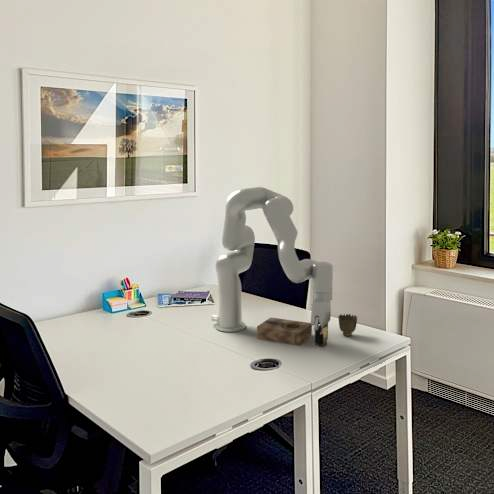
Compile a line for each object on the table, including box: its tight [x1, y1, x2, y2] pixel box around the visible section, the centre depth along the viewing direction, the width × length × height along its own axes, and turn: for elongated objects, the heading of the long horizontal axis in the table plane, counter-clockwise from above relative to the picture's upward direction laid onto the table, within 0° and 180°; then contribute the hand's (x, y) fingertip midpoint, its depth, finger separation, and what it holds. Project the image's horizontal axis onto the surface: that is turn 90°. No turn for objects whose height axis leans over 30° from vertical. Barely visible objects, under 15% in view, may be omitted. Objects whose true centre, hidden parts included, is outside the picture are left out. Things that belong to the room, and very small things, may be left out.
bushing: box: [314, 324, 328, 348], centre depth 213 cm, size 4×4×7 cm
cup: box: [337, 313, 358, 338], centre depth 222 cm, size 8×7×8 cm
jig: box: [256, 317, 313, 346], centre depth 222 cm, size 18×13×6 cm
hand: (321, 341), depth 213 cm, fingers closed on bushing, 4 cm apart
